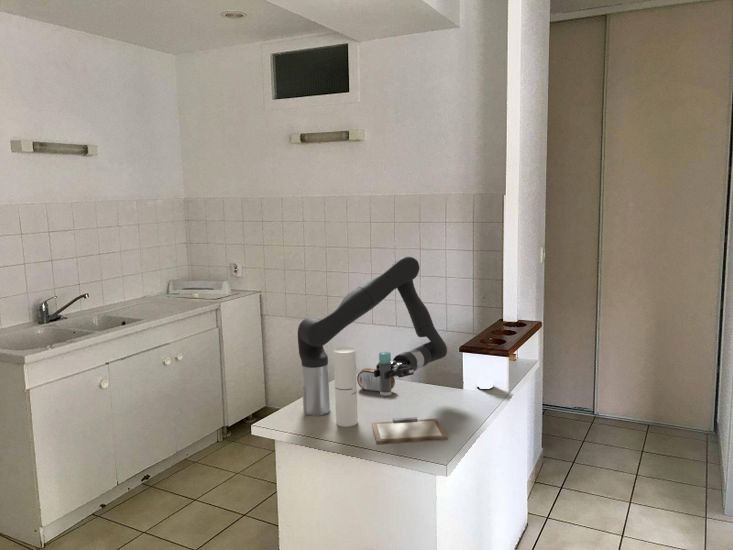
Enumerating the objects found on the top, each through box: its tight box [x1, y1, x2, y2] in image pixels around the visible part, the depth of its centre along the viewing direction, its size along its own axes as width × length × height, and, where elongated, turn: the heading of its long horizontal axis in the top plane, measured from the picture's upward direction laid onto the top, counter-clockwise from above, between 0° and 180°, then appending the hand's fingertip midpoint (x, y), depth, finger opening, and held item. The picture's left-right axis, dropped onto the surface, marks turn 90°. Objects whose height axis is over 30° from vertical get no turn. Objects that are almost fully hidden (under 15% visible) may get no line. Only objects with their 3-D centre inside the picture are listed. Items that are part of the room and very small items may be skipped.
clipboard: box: [371, 416, 448, 445], centre depth 194 cm, size 22×15×2 cm
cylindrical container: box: [333, 346, 359, 428], centre depth 202 cm, size 7×7×25 cm
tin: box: [356, 367, 396, 392], centre depth 234 cm, size 15×3×8 cm, turn 66°
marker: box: [378, 351, 392, 398], centre depth 197 cm, size 4×4×14 cm
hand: (380, 375), depth 195 cm, fingers closed on marker, 3 cm apart
